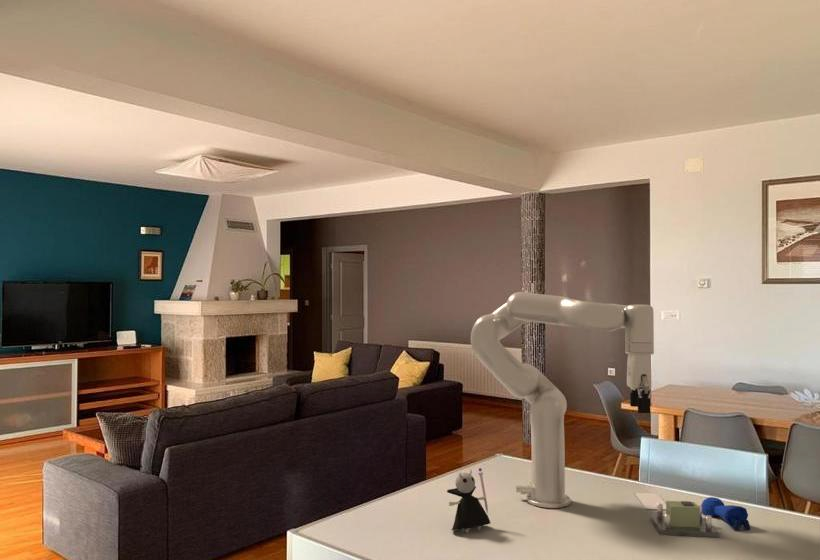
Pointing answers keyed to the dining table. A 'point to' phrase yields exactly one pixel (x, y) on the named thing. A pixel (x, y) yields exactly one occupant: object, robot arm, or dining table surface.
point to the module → (683, 513)
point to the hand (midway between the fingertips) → (640, 409)
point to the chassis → (666, 529)
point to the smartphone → (650, 500)
